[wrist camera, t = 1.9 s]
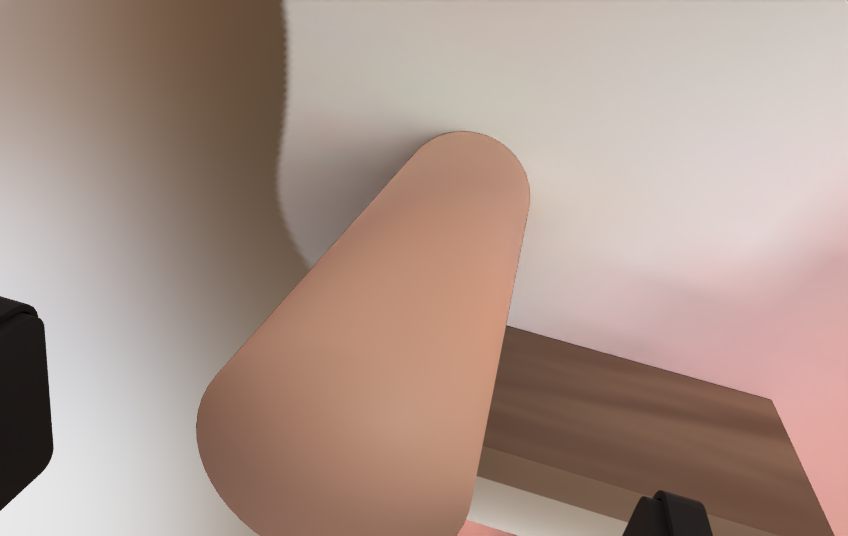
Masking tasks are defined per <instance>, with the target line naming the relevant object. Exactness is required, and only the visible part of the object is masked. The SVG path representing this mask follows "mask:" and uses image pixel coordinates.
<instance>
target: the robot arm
mask: <svg viewBox="0 0 848 536" xmlns="http://www.w3.org/2000/svg"><path fill="white" fill-rule="evenodd" d="M50 410H51V409H50V398H49V384H48V370H47V356H46V343H45V330H44V324H43V321H42V320H41V319H40V318H38V315H37V311H36V310H35V309H34V307H32V306H30V305H28V304H24V303H21V302H18V301H14V300H10V299H7V298H4V297H1V296H0V510H2V509H3V508H4V507H5V506H6V505H7V504H8V503H9V502H10V501H11V500H12V499H14V498H15V497H16V496H17V495H18V494H19V493H20V492H21V491H22V490H23V489H24V488H25V487H26V486H28V484H30V483H31V482H32V481H33V480H34V479H35V478H36V477H37V476H38V475H39V474H41V473H42V471H43V470H44V469H45V468H46V466H47V465H48V464H49V462H50V459H51V457H52V453H53V436H52V423H51V411H50ZM622 536H713V534H712V530H711V527H710V523H709V520H708V516H707V513H706V510H705V507H704V505H703V504H702V503H701V502H700V501H697V500H693V499H690V498H687V497H683V496H680V495H676V494H673V493H669V492H666V491H663V490H659V491H657V492H656V493H655V495H654V496H653V498H649V497H646V496H642V497H641V498H640V500H639V501H638V503H637V505H636V507H635V509H634V512H633V514H632V516H631V518H630V520H629V522H628V524H627V526H626V529H625V531H624V533H623V535H622Z"/></svg>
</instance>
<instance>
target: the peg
mask: <svg viewBox="0 0 848 536" xmlns="http://www.w3.org/2000/svg"><path fill="white" fill-rule="evenodd" d="M529 205H530V188H529V183H528V179H527V176H526V173H525V171H524V169H523V167H522V165H521V163H520V162H519V160H518V159H517V158H516V156H515V155H514V154H513V153H512V152H511V151H510V150H509V149H508V148H507V147H505V146H504V145H503V144H501V143H500V142H498V141H497V140H495V139H493V138H491V137H489V136H486V135H483V134H480V133H474V132H465V131H460V132H451V133H447V134H443V135H440V136H438V137H435V138H434V139H432V140H430V141H428V142H427V143H425V144H424V145H423V146H421V147H420V148H419V149H418V150H417V151H416V152H415V153H414V155H413V156H412V157H411V158H410V159H409V160H408V161H407V162H406V164H405V165H404V166H403V167H402V168H401V169H400V170H399V171H398V173H397V174H396V175H395V176H394V177H393V178H392V179H391V180H390V181H389V183H388V184H387V185H386V186H385V187H384V188H383V189H382V190H381V192H380V193H379V194H378V195H377V196H376V197H375V198H374V199H373V200H372V202H371V203H370V204H369V205H368V206H367V207H366V208H365V209H364V211H363V212H362V213H361V214H360V215H359V216H358V217H357V218H356V219H355V221H354V222H353V223H352V224H351V225H350V226H349V227H348V228H347V230H346V231H345V232H344V233H343V234H342V235H341V236H340V237H339V238H338V240H337V241H336V242H335V243H334V244H333V245H332V246H331V247H330V249H329V250H328V251H327V252H326V253H325V254H324V255H323V256H322V257H321V259H320V260H319V261H318V262H317V263H316V264H315V265H314V266H313V268H312V269H311V270H310V271H309V272H308V273H307V274H306V275H305V277H304V278H303V279H302V280H301V281H300V282H299V283H298V284H297V286H296V287H295V288H294V289H293V290H292V291H291V292H290V293H289V294H288V296H287V297H286V298H285V299H284V300H283V301H282V302H281V303H280V304H279V306H278V307H277V308H276V309H275V310H274V311H273V312H272V313H271V315H270V316H269V317H268V318H267V319H266V320H265V321H264V322H263V323H262V325H261V326H260V327H259V328H258V329H257V330H256V331H255V333H254V334H253V335H252V336H251V337H250V338H249V339H248V340H247V341H246V342H245V344H244V345H243V346H242V347H241V348H240V349H239V350H238V351H237V353H236V354H235V355H234V356H233V357H232V358H231V359H230V360H229V361H228V363H227V364H226V365H225V366H224V367H223V368H222V369H221V370H220V372H219V373H218V374H217V375H216V376H215V378H214V379H213V380H212V382H211V383H210V384H209V386H208V387H207V389H206V391H205V393H204V395H203V397H202V399H201V403H200V406H199V410H198V415H197V423H196V431H197V432H196V433H197V443H198V448H199V453H200V456H201V460H202V462H203V466H204V468H205V471H206V472H207V474H208V477H209V479H210V481H211V483H212V484H213V486H214V487H215V489H216V491H217V492H218V494H219V495H220V497H221V498H222V499H223V500H224V502H225V503H226V504H227V505H228V507H229V508H230V509H231V510H232V511H233V512H234V513H235V514H236V515H237V516H238V517H239V519H240V520H242V521H243V522H244V523H245V524H246V525H248V527H250V528H251V529H252V530H253V531H254V532H256V533H257V534H259V535H260V536H457V534H458V533H459V531H460V530H461V528H462V526H463V525H464V523H465V520H466V518H467V516H468V513H469V510H470V505H471V501H472V496H473V491H474V486H475V481H476V476H477V471H478V466H479V461H480V455H481V450H482V445H483V440H484V435H485V430H486V425H487V420H488V415H489V410H490V404H491V399H492V394H493V389H494V384H495V379H496V374H497V369H498V364H499V359H500V353H501V348H502V343H503V338H504V333H505V328H506V323H507V318H508V313H509V308H510V302H511V297H512V292H513V287H514V282H515V277H516V272H517V267H518V262H519V256H520V251H521V246H522V241H523V236H524V231H525V226H526V221H527V216H528V211H529Z"/></svg>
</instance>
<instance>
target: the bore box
mask: <svg viewBox="0 0 848 536" xmlns="http://www.w3.org/2000/svg"><path fill="white" fill-rule="evenodd" d="M659 490H663V491H666V492H669V493H673V494H676V495H680V496H683V497H687V498H690V499H693V500H697V501H700V502H701V503H702V504H703V505H704V507H705V510H706V513H707V516H708V520H709V523H710V527H711V530H712V534H713V536H834V534H833V531H832V529H831V527H830V525H829V523H828V521H827V518H826V516H825V514H824V512H823V510H822V508H821V505H820V503H819V501H818V499H817V497H816V495H815V492H814V490H813V488H812V486H811V484H810V482H809V480H808V477H807V475H806V473H805V471H804V469H803V467H802V464H801V462H800V460H799V458H798V456H797V454H796V451H795V449H794V447H793V445H792V443H791V441H790V438H789V436H788V434H787V432H786V430H785V428H784V426H783V423H782V421H781V419H780V417H779V415H778V413H777V410H776V408H775V406H774V404H773V402H772V400H769V399H765V398H762V397H758V396H755V395H751V394H747V393H744V392H740V391H737V390H733V389H730V388H726V387H722V386H719V385H715V384H712V383H708V382H705V381H701V380H698V379H694V378H690V377H687V376H683V375H680V374H676V373H673V372H669V371H665V370H662V369H658V368H655V367H651V366H648V365H644V364H641V363H637V362H633V361H630V360H626V359H623V358H619V357H616V356H612V355H608V354H605V353H601V352H598V351H594V350H591V349H587V348H584V347H580V346H576V345H573V344H569V343H566V342H562V341H559V340H555V339H551V338H548V337H544V336H541V335H537V334H534V333H530V332H527V331H523V330H519V329H516V328H512V327H509V326H506V328H505V333H504V338H503V343H502V348H501V353H500V359H499V364H498V369H497V374H496V379H495V384H494V389H493V394H492V399H491V404H490V410H489V415H488V420H487V425H486V430H485V435H484V440H483V445H482V450H481V455H480V461H479V466H478V471H477V476H476V481H475V486H474V491H473V496H472V501H471V505H470V510H469V513H468V516H467V518H466V519H467V520H470V521H473V522H476V523H479V524H482V525H486V526H489V527H492V528H495V529H498V530H501V531H505V532H508V533H511V534H514V535H517V536H622V535H623V533H624V531H625V529H626V526H627V524H628V522H629V520H630V518H631V516H632V514H633V512H634V509H635V507H636V505H637V503H638V501H639V500H640V498H641V497H642V496H646V497H649V498H653V496H654V495H655V493H656V492H657V491H659Z"/></svg>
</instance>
